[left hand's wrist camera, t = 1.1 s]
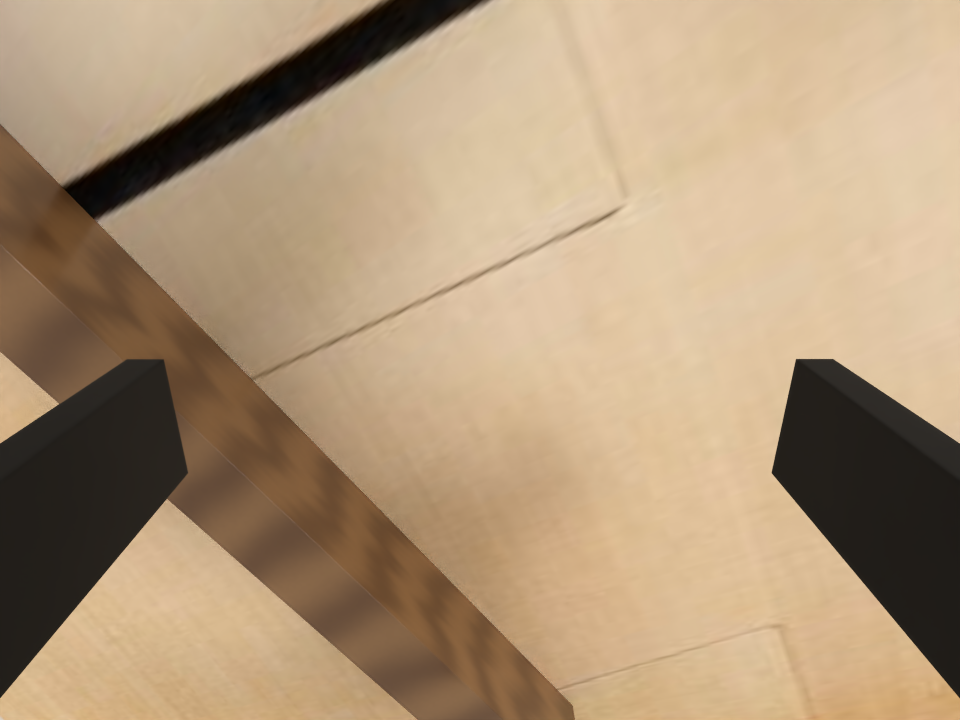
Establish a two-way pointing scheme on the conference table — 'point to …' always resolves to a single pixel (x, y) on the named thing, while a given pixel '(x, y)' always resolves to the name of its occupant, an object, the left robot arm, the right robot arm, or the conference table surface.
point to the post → (250, 465)
